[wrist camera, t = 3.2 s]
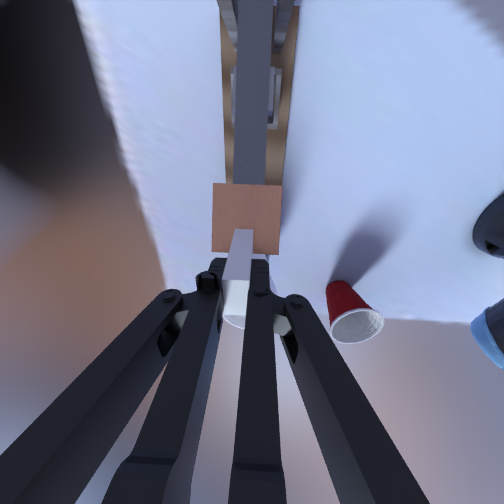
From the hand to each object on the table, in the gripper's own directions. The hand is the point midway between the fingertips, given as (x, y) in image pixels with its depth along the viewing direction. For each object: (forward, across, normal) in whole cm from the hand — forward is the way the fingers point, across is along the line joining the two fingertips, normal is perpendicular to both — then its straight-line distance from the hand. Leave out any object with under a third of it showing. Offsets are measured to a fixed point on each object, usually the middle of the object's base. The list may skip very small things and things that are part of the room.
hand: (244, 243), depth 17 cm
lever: (+10, 0, -7) cm, 12 cm away
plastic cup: (+25, -22, +26) cm, 42 cm away
